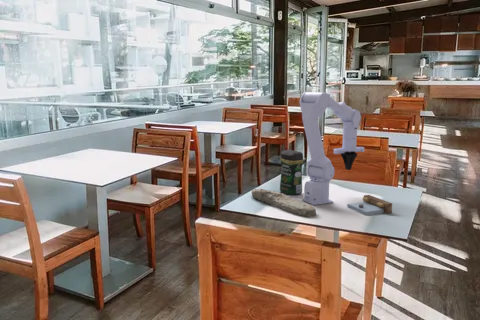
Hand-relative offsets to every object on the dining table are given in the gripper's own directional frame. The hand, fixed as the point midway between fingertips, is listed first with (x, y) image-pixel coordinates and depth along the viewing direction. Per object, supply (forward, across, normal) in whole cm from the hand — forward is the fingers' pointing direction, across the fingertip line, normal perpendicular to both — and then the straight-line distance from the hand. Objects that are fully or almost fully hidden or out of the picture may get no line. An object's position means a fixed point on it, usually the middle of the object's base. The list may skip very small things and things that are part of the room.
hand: (348, 169), depth 185 cm
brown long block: (+10, -3, -22) cm, 25 cm away
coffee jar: (+11, -22, +10) cm, 26 cm away
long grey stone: (+11, -34, -4) cm, 36 cm away
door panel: (+11, -8, -22) cm, 26 cm away
